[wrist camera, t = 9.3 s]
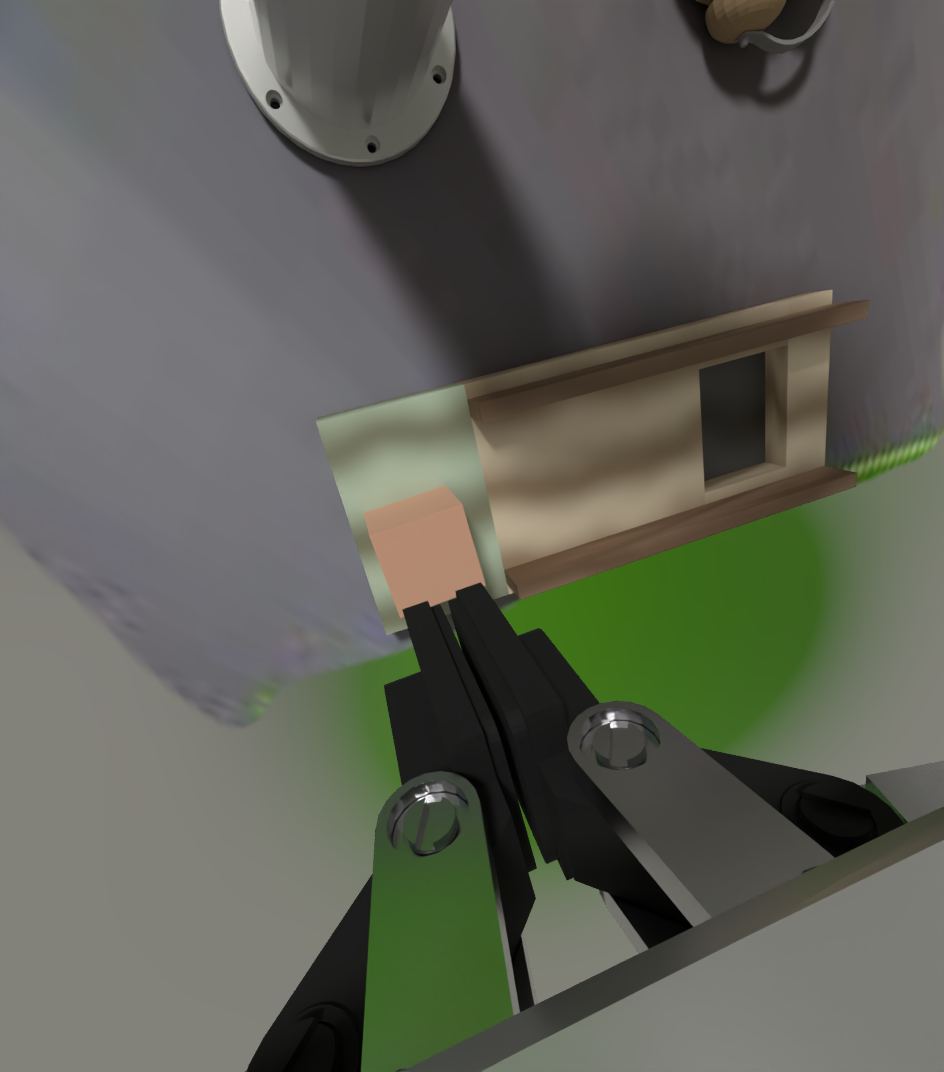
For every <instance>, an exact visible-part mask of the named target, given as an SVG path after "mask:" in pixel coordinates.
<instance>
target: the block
mask: <svg viewBox="0 0 944 1072" xmlns="http://www.w3.org/2000/svg"><path fill="white" fill-rule="evenodd" d="M364 517H365V521H366V525H367V529H368V533H369V537H370V539H371V542H372V544H373V547H374V550H375V552H376V555H377V558H378V560H379V563H380V566H381V568H382V571H383V574H384V576H385V579H386V582H387V584H388V587H389V590H390V592H391V595H392V598H393V600H394V603H395V605H396V608H397V611H398V613H399V616H400V618H402V617H404V614H403V611H402V609H405V608H408V607H411V606H413V605H416V604H419V603H422V602H425V601H428V602H429V605H430V607H431V606H434V605H437V604H439V603H442V602H444V601H447V600H450V599H452V598H455V597H456V591H457V590H460V589H463V588H465V587H468V586H471V585H474V584H477V583H480V582H481V583H482V584H483V586H486V584H485V581H484V577H483V574H482V570H481V567H480V563H479V560H478V557H477V553H476V550H475V546H474V543H473V539H472V536H471V533H470V529H469V526H468V522H467V519H466V515H465V512H464V509H463V505H462V503H461V502H460V501H459V500H458V499H457V498H456V497H455V496H454V494H453V493H452V492H451V491H450V490H449V489H448V488H447V487H446V486H445V485H444V486H441V487H438V488H435V489H432V490H429V491H426V492H424V493H421V494H418V495H415V496H412V497H409V498H406V499H403V500H400V501H397V502H394V503H391V504H389V505H386V506H383V507H380V508H377V509H374V510H371V511H368V512H365V513H364Z"/></svg>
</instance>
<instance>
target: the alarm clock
mask: <svg viewBox="0 0 944 1072" xmlns="http://www.w3.org/2000/svg"><path fill="white" fill-rule="evenodd" d="M696 1H698V2H700V3H703V4H706V5H709V7H708V8H707V11H706V14H705V19H706V24H707V28H708V30H709V33H710V34H711V36H712V37H713V38H714V39H715V40H717V41H719V42H722V43H737V42H739V45H740V47H741V48H744V47H746V46H747V44H748V43H752V44H754V45H756V46H757V47H759V48H761V49H762V50H764V51H766V52H770V53H784V52H787V51H789V50H792V49H794V48H795V47H797V46H798V45H800V44H801V43H803V42H804V41H805V40H807V39H808V38H809V37H810V36H812V35H813V34H814V33H815V32H816V31H817V30H818V29H819V28H820V27H821V25H822V24H823V23H824V21H825V20H826V18H827V17H828V15H829V13H830V11H831V8H832V6H833V4H834V0H822V1H821V5H820V9H819V12H818V14H817V16H816V19H815V21H814V22H813V24H812V25H811V27H810V28H809V30H808V31H807V32H806V33H805V34H804V35H803V36H801V37H798V38H795V39H793V40H782V39H778V38H775V37H773V36H772V35H770V34H768V33H766V32H763V30H764V29H766V28H767V27H768V26H769V25H770V24H771V23H772V22H773V21H774V20H775V19H776V18H777V16H778V15H779V14H780V12H781V10H782V9H783V7H784V5H785V3H786V0H696Z"/></svg>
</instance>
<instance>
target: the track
mask: <svg viewBox="0 0 944 1072" xmlns="http://www.w3.org/2000/svg"><path fill="white" fill-rule="evenodd" d="M868 304H869V300H864V301H853V302H843V303H833V304H832V290H826V291H818V292H810V293H804V294H800V295H796V296H792V297H788V298H784V299H780V300H776V301H772V302H769V303H765V304H761V305H757V306H753V307H749V308H745V309H741V310H737V311H733V312H729V313H726V314H722V315H718V316H714V317H710V318H706V319H702V320H698V321H694V322H690V323H686V324H683V325H679V326H675V327H671V328H667V329H663V330H659V331H655V332H651V333H647V334H643V335H640V336H636V337H632V338H628V339H624V340H620V341H616V342H612V343H608V344H604V345H601V346H597V347H593V348H589V349H585V350H581V351H577V352H573V353H569V354H565V355H561V356H558V357H554V358H550V359H546V360H542V361H538V362H534V363H530V364H526V365H522V366H518V367H515V368H511V369H507V370H503V371H499V372H495V373H491V374H487V375H483V376H479V377H475V378H472V379H468V380H464V381H460V382H456V383H452V384H448V385H444V386H440V387H436V388H433V389H429V390H425V391H421V392H417V393H413V394H409V395H405V396H401V397H397V398H393V399H390V400H386V401H382V402H378V403H374V404H370V405H366V406H362V407H358V408H354V409H350V410H347V411H343V412H339V413H335V414H331V415H327V416H323V417H319V418H317V420H316V423H317V426H318V429H319V432H320V435H321V438H322V442H323V445H324V448H325V451H326V454H327V457H328V460H329V463H330V466H331V469H332V472H333V475H334V478H335V481H336V484H337V487H338V490H339V493H340V496H341V499H342V502H343V505H344V508H345V511H346V514H347V517H348V520H349V523H350V526H351V529H352V532H353V535H354V538H355V541H356V544H357V547H358V551H359V554H360V557H361V560H362V563H363V566H364V569H365V572H366V575H367V578H368V581H369V584H370V587H371V590H372V593H373V596H374V599H375V602H376V605H377V608H378V611H379V614H380V617H381V620H382V623H383V626H384V629H385V632H386V635H389V634H392V633H395V632H398V631H401V630H404V629H407V628H408V627H407V624H406V620H405V617H402V618H400V616H399V613H398V611H397V608H396V605H395V603H394V600H393V598H392V595H391V592H390V590H389V587H388V584H387V582H386V579H385V576H384V574H383V571H382V568H381V566H380V563H379V560H378V558H377V555H376V552H375V550H374V547H373V544H372V542H371V539H370V537H369V533H368V529H367V525H366V521H365V517H364V513H365V512H368V511H371V510H374V509H377V508H380V507H383V506H386V505H389V504H391V503H394V502H397V501H400V500H403V499H406V498H409V497H412V496H415V495H418V494H421V493H424V492H426V491H429V490H432V489H435V488H438V487H441V486H444V485H445V486H446V487H447V488H448V489H449V490H450V491H451V492H452V493H453V494H454V496H455V497H456V498H457V499H458V500H459V501H460V502H461V503H462V505H463V509H464V512H465V515H466V519H467V522H468V526H469V529H470V533H471V536H472V539H473V543H474V546H475V550H476V553H477V557H478V560H479V563H480V567H481V570H482V574H483V577H484V581H485V584H486V586H484V587H485V589H486V590H487V592H488V593H489V594H490V596H491V597H492V599H493V600H494V599H497V598H500V597H503V596H506V595H509V594H512V593H515V594H516V596H517V597H518V598H519V599H520V600H521V599H524V598H527V597H530V596H533V595H536V594H539V593H542V592H545V591H548V590H551V589H553V588H557V587H560V586H563V585H566V584H569V583H571V582H574V581H578V580H581V579H583V578H586V577H589V576H592V575H595V574H598V573H601V572H604V571H607V570H610V569H613V568H616V567H619V566H622V565H625V564H628V563H631V562H634V561H637V560H640V559H642V558H646V557H649V556H652V555H655V554H658V553H661V552H663V551H666V550H669V549H672V548H675V547H678V546H681V545H684V544H687V543H690V542H693V541H696V540H699V539H702V538H705V537H708V536H711V535H714V534H717V533H720V532H723V531H726V530H729V529H732V528H735V527H738V526H740V525H744V524H747V523H750V522H753V521H755V520H758V519H761V518H764V517H767V516H770V515H773V514H776V513H779V512H782V511H785V510H788V509H791V508H794V507H797V506H800V505H802V504H805V503H809V502H812V501H815V500H817V499H821V498H824V497H827V496H830V495H833V494H835V493H838V492H841V491H844V490H847V489H850V488H853V487H856V478H857V473H855V472H851V471H846V470H842V469H837V468H833V467H828V466H825V447H826V424H827V402H828V379H829V357H830V334H831V327H835V326H838V325H842V324H846V323H849V322H853V321H857V320H860V319H864V318H868ZM455 598H457V597H455ZM455 598H452V599H455ZM452 599H450V600H452ZM448 601H449V600H447V601H444V602H442V603H439V604H440V605H441V607H442V609H443V611H444V613H445V615H449V614H451V612H450V608H449V604H448ZM437 605H438V604H437ZM434 606H435V605H434ZM431 607H432V606H431Z"/></svg>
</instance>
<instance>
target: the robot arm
mask: <svg viewBox="0 0 944 1072" xmlns="http://www.w3.org/2000/svg"><path fill="white" fill-rule="evenodd" d="M452 1H453V0H219V10H220V16H221V20H222V24H223V29H224V33H225V37H226V42H227V45H228V48H229V51H230V54H231V57H232V59H233V62H234V65H235V67H236V69H237V71H238V73H239V75H240V77H241V79H242V82H243V84H244V86H245V88H246V90H247V91H248V93H249V94H250V96H251V97H252V99H253V100H254V102H255V103H256V105H257V106H258V107H259V109H260V110H261V112H262V113H263V114H264V115H265V116H266V117H267V118H268V120H269V121H270V122H271V123H272V124H273V125H274V126H275V127H276V128H277V129H278V131H279V132H281V133H282V134H283V135H284V136H286V137H287V138H288V139H290V140H291V141H292V142H293V143H295V144H296V145H297V146H298V147H300V148H302V149H304V150H305V151H307V152H309V153H311V154H313V155H315V156H316V157H318V158H321V159H324V160H327V161H330V162H333V163H336V164H339V165H348V166H357V167H363V166H372V165H380V164H383V163H385V162H388V161H391V160H394V159H396V158H399V157H400V156H402V155H403V154H405V153H406V152H408V151H409V150H411V149H412V148H414V147H415V146H416V145H417V144H418V143H419V142H420V141H421V140H422V139H423V138H424V136H425V135H426V134H427V133H428V132H429V130H430V129H431V127H432V126H433V124H434V122H435V121H436V119H437V118H438V116H439V114H440V112H441V110H442V107H443V105H444V103H445V101H446V99H447V96H448V92H449V89H450V86H451V83H452V78H453V72H454V63H455V55H456V40H455V22H454V17H453V11H452V5H451V4H452ZM434 77H436V78H438V79H439V81H440V84H437V83H436V82H435V81H434V80H433V78H434ZM272 102H277V103H279V105H280V108H279V109H273V108H272V107H271V103H272ZM369 145H372V146H374V147H375V149H376V152H375V153H370V152H369V151H368V149H367V147H368V146H369ZM456 597H457V598H455V599H452V600H449V601H448V604H449V608H450V612H451V615H452V618H453V622H454V625H455V629H456V632H457V635H458V639H459V642H460V646H461V648H460V646H459V643H458V641H457V639H456V637H455V635H454V633H453V630H452V628H451V626H450V624H449V622H448V620H447V617H446V615H445V613H444V611H443V609H442V607H441V605H440V604H438V605H435V606H432V607H430V605H429V602H428V601H425V602H422V603H419V604H416V605H413V606H411V607H408V608H405V609H402V611H403V614H404V617H405V620H406V624H407V627H408V630H409V633H410V637H411V640H412V643H413V647H414V650H415V653H416V656H417V659H418V663H419V666H420V669H421V672H418V673H416V674H413V675H410V676H407V677H405V678H402V679H399V680H396V681H394V682H391V683H388V684H386V685H384V689H385V695H386V701H387V706H388V712H389V717H390V723H391V728H392V734H393V739H394V744H395V750H396V756H397V761H398V767H399V772H400V778H401V783H402V786H401V787H399V788H398V789H397V790H396V791H395V792H394V793H393V794H392V795H391V797H390V798H389V799H388V800H387V801H386V803H385V805H384V806H383V808H382V810H381V812H380V814H379V816H378V821H377V826H376V829H375V843H374V860H373V874H372V875H371V877H370V879H369V880H368V881H367V883H366V884H365V886H364V887H363V889H362V890H361V892H360V893H359V895H358V896H357V898H356V899H355V901H354V902H353V904H352V905H351V907H350V908H349V910H348V911H347V913H346V914H345V916H344V917H343V919H342V921H341V922H340V923H339V925H338V927H337V928H336V930H335V931H334V932H333V934H332V936H331V937H330V939H329V940H328V942H327V943H326V945H325V946H324V948H323V949H322V951H321V952H320V954H319V955H318V957H317V958H316V960H315V961H314V963H313V964H312V966H311V967H310V969H309V970H308V972H307V973H306V975H305V976H304V978H303V979H302V981H301V982H300V984H299V985H298V987H297V988H296V990H295V991H294V993H293V994H292V996H291V997H290V999H289V1000H288V1002H287V1003H286V1005H285V1006H284V1008H283V1009H282V1011H281V1012H280V1014H279V1015H278V1017H277V1018H276V1020H275V1022H274V1023H273V1025H272V1026H271V1027H270V1029H269V1031H268V1032H267V1034H266V1035H265V1037H264V1038H263V1040H262V1042H261V1044H260V1045H259V1047H258V1049H257V1051H256V1053H255V1055H254V1057H253V1058H252V1060H251V1062H250V1064H249V1066H248V1069H247V1070H246V1071H245V1072H944V761H941V762H935V763H929V764H925V765H919V766H914V767H908V768H903V769H898V770H892V771H887V772H882V773H877V774H871V775H866V784H865V785H857V784H855V783H853V782H850V781H847V780H844V779H841V778H838V777H834V776H831V775H826V774H821V773H817V772H811V771H807V770H802V769H797V768H792V767H788V766H783V765H778V764H774V763H769V762H764V761H760V760H755V759H750V758H745V757H741V756H736V755H731V754H726V753H721V752H717V751H712V750H707V749H702V748H699V747H698V746H697V745H695V744H694V743H693V742H692V741H690V740H689V739H688V738H687V737H686V736H684V735H683V734H682V733H681V732H679V731H678V730H677V729H676V728H674V727H673V726H672V725H671V724H670V723H668V722H667V721H666V720H665V719H663V718H662V717H661V716H660V715H658V714H657V713H655V712H654V711H652V710H650V709H649V708H647V707H645V706H642V705H639V704H635V703H632V702H623V701H612V702H605V703H599V702H598V700H597V699H596V698H595V697H594V695H593V694H592V693H591V691H590V690H589V689H588V688H587V686H586V685H585V684H584V683H583V681H582V680H581V679H580V678H579V676H578V675H577V674H576V672H575V671H574V670H573V669H572V667H571V666H570V665H569V663H568V662H567V661H566V659H565V658H564V657H563V656H562V654H561V653H560V652H559V651H558V649H557V648H556V647H555V645H554V644H553V643H552V642H551V640H550V639H549V638H548V637H547V635H546V634H545V633H544V632H543V631H542V630H541V629H539V628H538V629H535V630H532V631H530V632H527V633H524V634H521V635H519V636H517V634H516V633H515V631H514V630H513V628H512V627H511V625H510V624H509V622H508V621H507V620H506V618H505V617H504V615H503V614H502V612H501V611H500V609H499V608H498V606H497V605H496V603H495V602H494V600H493V599H492V597H491V596H490V594H489V593H488V592H487V590H486V589H485V587H484V586H483V584H482V583H481V582H480V583H477V584H474V585H471V586H468V587H465V588H463V589H460V590H457V591H456ZM461 649H462V650H461ZM518 801H519V803H520V805H521V808H522V810H523V812H524V815H525V817H526V819H527V822H528V824H529V826H530V829H531V831H532V833H533V836H534V838H535V840H536V842H537V845H538V847H539V849H540V851H541V854H542V856H543V858H544V860H545V862H546V864H548V863H550V862H552V861H555V860H558V862H559V864H560V867H561V869H562V871H563V873H564V875H565V877H566V880H569V879H571V878H573V877H574V880H575V881H578V882H580V883H583V884H586V885H588V886H591V887H594V888H596V889H599V892H600V895H601V897H602V899H603V901H604V903H605V905H606V907H607V908H608V910H609V911H610V913H611V914H612V915H613V917H614V918H615V919H616V921H617V923H618V924H619V925H620V927H621V928H622V930H623V931H624V933H625V934H626V936H627V937H628V939H629V940H630V941H631V943H632V944H633V946H634V947H635V949H636V950H637V952H638V953H639V954H638V955H636V956H634V957H632V958H630V959H628V960H626V961H623V962H621V963H619V964H618V965H616V966H613V967H611V968H609V969H608V970H605V971H603V972H601V973H599V974H597V975H595V976H593V977H591V978H589V979H587V980H585V981H583V982H581V983H579V984H577V985H575V986H573V987H571V988H569V989H567V990H565V991H563V992H561V993H559V994H557V995H555V996H553V997H550V998H549V999H547V1000H544V1001H543V1002H540V1003H537V998H536V994H535V988H534V983H533V978H532V973H531V968H530V963H529V958H528V953H527V947H526V943H525V940H524V937H523V934H522V932H523V929H524V927H525V924H526V922H527V919H528V917H529V914H530V912H531V909H532V907H533V904H534V901H535V899H536V897H535V894H534V891H533V887H532V884H531V881H530V877H529V874H528V872H530V871H532V870H534V869H536V868H537V867H536V863H535V859H534V856H533V852H532V849H531V845H530V842H529V838H528V835H527V831H526V827H525V824H524V820H523V817H522V813H521V810H520V806H519V803H518Z"/></svg>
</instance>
